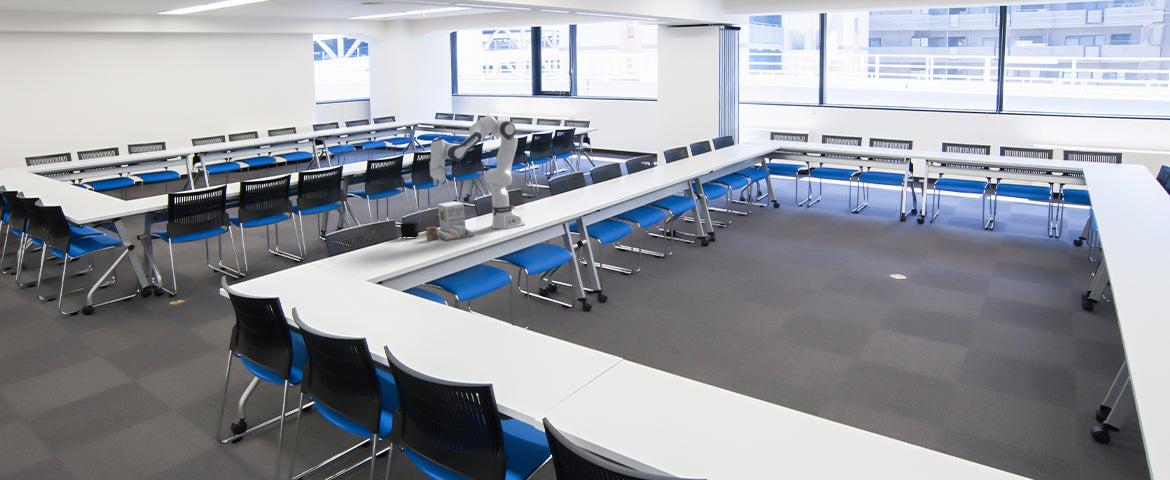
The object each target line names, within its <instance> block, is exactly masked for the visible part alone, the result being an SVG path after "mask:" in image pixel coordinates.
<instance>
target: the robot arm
mask: <svg viewBox="0 0 1170 480" xmlns="http://www.w3.org/2000/svg"><path fill="white" fill-rule="evenodd" d="M468 133H469V136H468V137H467V138H466V139H465V140H463V141H462V142H461V143H460V144H453V143H450V142H448V141H446V140H445V139H444V138H435V139H433V140H432V141H431V143H430V155H431V156H430V161H429V163H428V165H429V175H430V177H431V178H432V181H433V185H434V186H438V188H443V182H445V181H446V169H445V167H446V159H448V160H451V161H454V162H461V161H462V160H463V159H464V157H465V156H466V154H467V153H468V152H469V151H470V150H471V149H472V148H473V147H475V145H477V144H478V143H479V142H480V141H481V140H483V139H484V138H486V137H488V135H490V134H492V135H494V136H496V137H500V139H501V140H500V145H499V147H498V151H497V154H496V158H495V159H496V167H495V168H490V169H488V170H487V172H486V174H485V179H486V181H487V182H488V185H489V189H490V190H489V191H490V193H491V203H492V206H491V210H492V224H491V227H492V228H493V229H505V230H506V229H507V230H509V229H512V228H517V227H521V226H525V225H526V224H525V222H524V221H522V219H521V216H520V215H521V214H518V213H517V212H516V211H514V209H515V206H514V205H511V204H510V200H509V199H510V198H509V193H508V191H507V188H506V187H509V186H510V185H511V184H512V182H513V176H512V167H513V162H514V159H515V155H516V151H517V147H518V144H519V143H518V141H519V140H518V139H519V138H518V137H517V135H516V127H515V125H514V123H513V122H511V121H510V120H505V119H496V118H495V117H494V116H493V115H490V114H489V115H485V116H483V117H482V118H480V119H478V120H477V121H476V122H474V123H473V124H471V126H470V127H469V131H468ZM437 181H438V182H437Z"/></svg>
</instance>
